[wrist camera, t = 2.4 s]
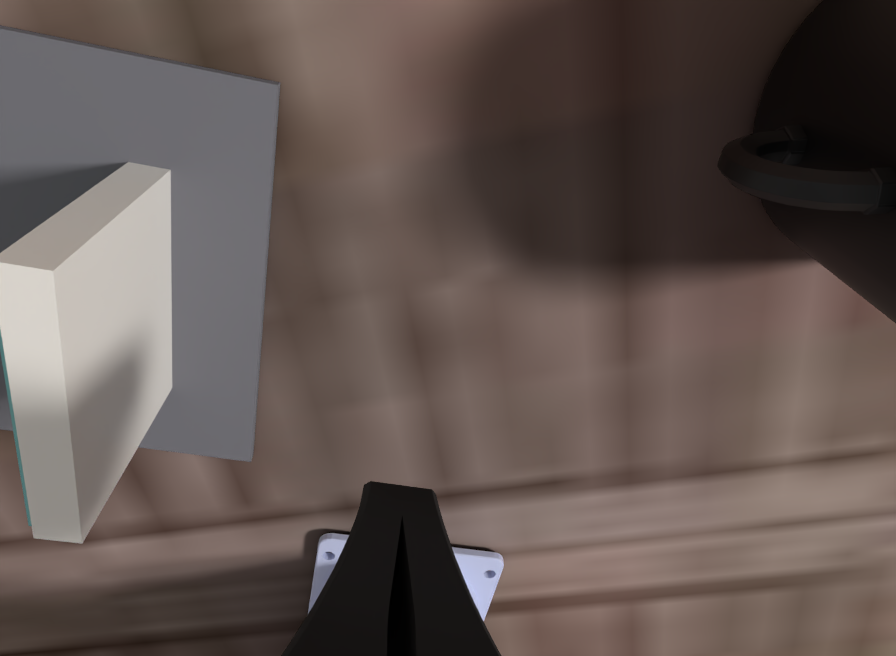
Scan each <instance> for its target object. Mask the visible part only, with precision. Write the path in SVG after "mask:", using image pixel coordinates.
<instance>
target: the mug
mask: <svg viewBox="0 0 896 656" xmlns="http://www.w3.org/2000/svg"><path fill="white" fill-rule="evenodd" d="M718 168H719V170H720V171H721V172H722V174H723V175H724V176H725V177H726V178H727V179H728V180H729V181H730V182H731V183H732V185H734V186H735V187H737V188H739V189H740V190H742V191H744V192H746V193H749V194H751V195H754V196H756V197H759V198H760V199H761V201H762V203H763V206H764V208H765V210H766V212H767V214H768V215H769V216H770V218H771V219H772V221H773V222H774V224H775V225H776V226H777V227H778V228H779V230H780V231H781V232H783V233H784V234H785V235H786V236H787V237H788V238H789V239H790V240H791V241H792V242H794V243H795V244H796V245H797V246H799V247H800V248H801V249H802V250H804V251H805V252H806V253H807V254H809V255H810V256H811V257H813V258H814V259H815V260H816V261H818V262H819V263H820V264H821V265H823V266H824V267H825V268H826V269H828V270H829V271H830V272H832V273H833V274H834V275H835V276H837V277H838V278H839V279H840V280H842V281H843V282H844V283H845V284H847V285H848V286H849V287H850V288H852V289H853V290H854V291H856V292H857V293H858V294H859V295H861V296H862V297H863V298H864V299H866V300H867V301H868V302H869V303H871V304H872V305H873V306H875V307H876V308H877V309H878V310H880V311H881V312H882V313H883V314H885V315H886V316H887V317H888V318H890V319H891V320H892V321H894V322H895V323H896V0H823V1H822V2H821V3H820V4H819V5H818V7H817V8H816V9H815V10H814V11H813V12H812V13H811V14H810V15H809V16H808V17H807V18H806V19H805V21H804V22H803V23H802V25H801V26H800V27H799V29H798V30H797V31H796V33H795V34H794V35H793V37H792V38H791V39H790V41H789V42H788V44H787V45H786V47H785V48H784V50H783V52H782V54H781V55H780V57H779V59H778V61H777V62H776V64H775V66H774V68H773V69H772V72H771V74H770V76H769V79H768V81H767V84H766V86H765V88H764V91H763V94H762V97H761V100H760V103H759V107H758V111H757V114H756V118H755V124H754V133H753V134H752V135H749V136H746V137H743V138H739V139H736V140H733V141H731V142H729V143H728V144H727V145H726V146H725V147H724V148H723V150H722V153H721V156H720V158H719V161H718Z"/></svg>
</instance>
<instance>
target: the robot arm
mask: <svg viewBox="0 0 896 656" xmlns="http://www.w3.org/2000/svg"><path fill="white" fill-rule="evenodd" d="M328 552H332V553H328ZM503 566H504V563H503V557H502V556H501V555H500V554H499V553H495V552H489V551H480V550H472V549H463V548H455V547H451V544H450V541H449V538H448V535H447V532H446V529H445V526H444V523H443V519H442V516H441V513H440V509H439V505H438V501H437V497H436V494H435V493H434V491H433V490H432V489H424V488H417V487H409V486H402V485H395V484H387V483H380V482H372V481H370V482H369V483H367V484H365V485H364V488H363V493H362V498H361V503H360V507H359V510H358V513H357V516H356V519H355V522H354V524H353V527H352V529H351V532H350V535H345V534H337V533H327V534H323V535H322V536H321V537H320V539H319V543H318V549H317V556H316V562H315V569H314V576H313V582H312V589H311V595H310V602H309V609H308V615H307V617H306V618H305V620H304V622H303V623H302V625H301V626H300V628H299V630H298V631H297V633H296V634H295V636H294V637H293V639H292V640H291V642H290V643H289V645H288V646H287V648H286V649H285V651H284V652H283V654H282V655H281V656H501V654H500V653H499V651H498V649H497V647H496V645H495V643H494V641H493V640H492V638H491V636H490V634H489V632H488V630H487V628H486V626H485V624H484V619H485V616H486V614H487V611H488V608H489V605H490V603H491V600H492V597H493V594H494V592H495V589H496V586H497V583H498V581H499V578H500V575H501V572H502V570H503ZM488 570H491V571H488Z"/></svg>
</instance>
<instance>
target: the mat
mask: <svg viewBox="0 0 896 656" xmlns="http://www.w3.org/2000/svg"><path fill="white" fill-rule="evenodd" d="M279 94H280V82H275V81H270V80H265V79H260V78H255V77H250V76H245V75H241V74H236V73H231V72H226V71H221V70H216V69H211V68H206V67H202V66H197V65H192V64H187V63H182V62H177V61H172V60H167V59H162V58H158V57H153V56H148V55H143V54H138V53H133V52H128V51H123V50H119V49H114V48H109V47H104V46H99V45H94V44H89V43H84V42H80V41H75V40H70V39H65V38H60V37H55V36H50V35H45V34H40V33H36V32H31V31H26V30H21V29H16V28H11V27H6V26H1V25H0V253H1V252H2V251H4V250H5V249H7V248H8V247H9V246H11V245H12V244H14V243H15V242H16V241H18V240H19V239H21V238H22V237H24V236H25V235H26V234H28V233H29V232H31V231H32V230H33V229H35V228H36V227H38V226H39V225H40V224H42V223H43V222H45V221H46V220H47V219H49V218H50V217H52V216H53V215H54V214H56V213H57V212H59V211H60V210H61V209H63V208H64V207H66V206H67V205H69V204H70V203H71V202H73V201H74V200H76V199H77V198H78V197H80V196H81V195H83V194H84V193H85V192H87V191H88V190H90V189H91V188H92V187H94V186H95V185H97V184H98V183H99V182H101V181H102V180H104V179H105V178H106V177H108V176H109V175H111V174H112V173H114V172H115V171H116V170H118V169H119V168H121V167H122V166H123V165H125V164H126V163H128V162H131V163H137V164H142V165H147V166H153V167H158V168H164V169H169V170H171V282H172V389H171V391H170V393H169V394H168V396H167V398H166V400H165V401H164V403H163V405H162V406H161V408H160V410H159V412H158V413H157V415H156V417H155V419H154V420H153V422H152V424H151V426H150V427H149V429H148V431H147V432H146V434H145V436H144V438H143V439H142V441H141V443H140V445H139V446H138V447H141V448H148V449H156V450H164V451H171V452H179V453H187V454H194V455H202V456H210V457H217V458H225V459H233V460H240V461H248V462H251V460H252V457H253V451H254V438H255V424H256V410H257V396H258V383H259V369H260V355H261V341H262V328H263V314H264V300H265V287H266V273H267V259H268V245H269V232H270V218H271V204H272V190H273V177H274V163H275V149H276V135H277V122H278V108H279ZM0 429H2V430H10V431H13V426H12V420H11V414H10V408H9V401H8V395H7V389H6V383H5V377H4V371H3V365H2V358H1V352H0Z"/></svg>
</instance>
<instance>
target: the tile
mask: <svg viewBox="0 0 896 656" xmlns="http://www.w3.org/2000/svg"><path fill="white" fill-rule="evenodd" d="M0 352H1V358H2V365H3V371H4V377H5V383H6V389H7V395H8V401H9V408H10V414H11V420H12V426H13V432H14V438H15V444H16V451H17V457H18V463H19V469H20V475H21V481H22V488H23V494H24V500H25V506H26V512H27V518H28V524H29V526H32V530H33V537H34V538H38V539H47V540H56V541H65V542H74V543H83V541H84V540H85V538H86V536H87V534H88V533H89V531H90V529H91V528H92V526H93V524H94V522H95V521H96V519H97V517H98V515H99V514H100V512H101V510H102V509H103V507H104V505H105V503H106V502H107V500H108V498H109V496H110V495H111V493H112V491H113V490H114V488H115V486H116V484H117V483H118V481H119V479H120V477H121V476H122V474H123V472H124V470H125V469H126V467H127V465H128V464H129V462H130V460H131V458H132V457H133V455H134V453H135V451H136V450H137V448H138V446H139V445H140V443H141V441H142V439H143V438H144V436H145V434H146V432H147V431H148V429H149V427H150V426H151V424H152V422H153V420H154V419H155V417H156V415H157V413H158V412H159V410H160V408H161V406H162V405H163V403H164V401H165V400H166V398H167V396H168V394H169V393H170V391H171V389H172V282H171V170H169V169H164V168H158V167H153V166H147V165H142V164H137V163H131V162H128V163H126V164H125V165H123V166H122V167H121V168H119V169H118V170H116V171H115V172H114V173H112V174H111V175H109V176H108V177H106V178H105V179H104V180H102V181H101V182H99V183H98V184H97V185H95V186H94V187H92V188H91V189H90V190H88V191H87V192H85V193H84V194H83V195H81V196H80V197H78V198H77V199H76V200H74V201H73V202H71V203H70V204H69V205H67V206H66V207H64V208H63V209H61V210H60V211H59V212H57V213H56V214H54V215H53V216H52V217H50V218H49V219H47V220H46V221H45V222H43V223H42V224H40V225H39V226H38V227H36V228H35V229H33V230H32V231H31V232H29V233H28V234H26V235H25V236H24V237H22V238H21V239H19V240H18V241H16V242H15V243H14V244H12V245H11V246H9V247H8V248H7V249H5V250H4V251H2V252H1V253H0Z"/></svg>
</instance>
